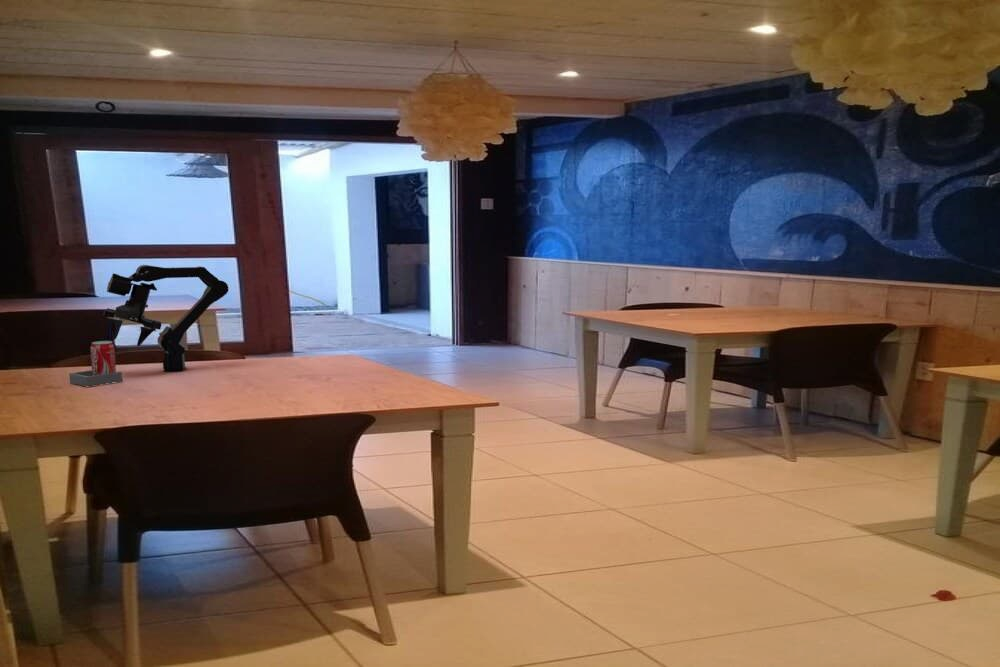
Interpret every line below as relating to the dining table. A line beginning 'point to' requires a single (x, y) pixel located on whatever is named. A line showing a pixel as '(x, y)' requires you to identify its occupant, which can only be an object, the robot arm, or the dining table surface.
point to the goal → (94, 378)
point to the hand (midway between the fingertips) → (126, 342)
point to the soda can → (102, 358)
